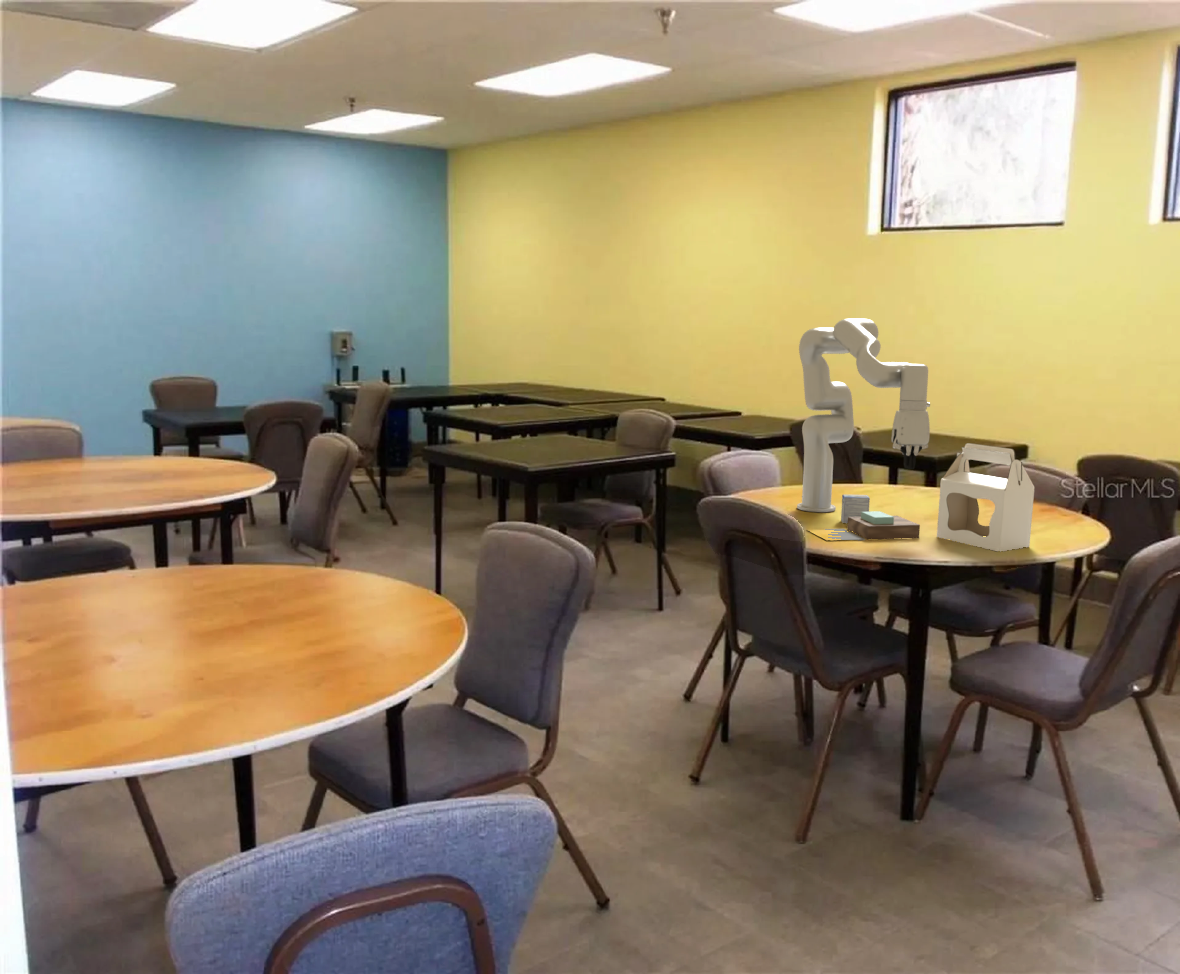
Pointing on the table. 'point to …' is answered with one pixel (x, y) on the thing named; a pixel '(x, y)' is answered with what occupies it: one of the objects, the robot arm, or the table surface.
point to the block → (877, 517)
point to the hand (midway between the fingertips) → (909, 468)
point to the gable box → (1007, 495)
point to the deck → (884, 528)
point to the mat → (845, 535)
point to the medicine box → (854, 506)
